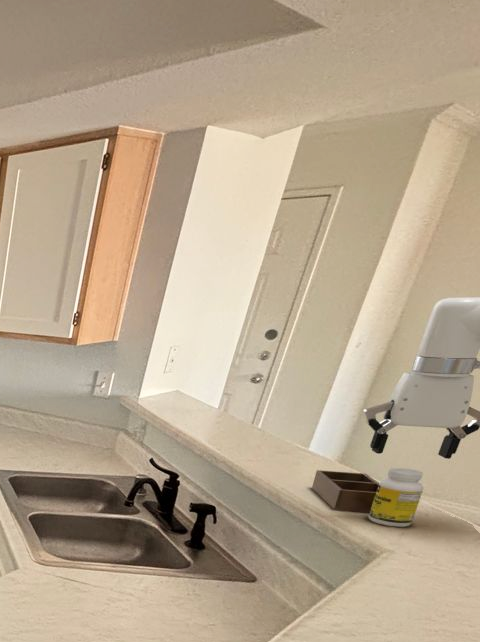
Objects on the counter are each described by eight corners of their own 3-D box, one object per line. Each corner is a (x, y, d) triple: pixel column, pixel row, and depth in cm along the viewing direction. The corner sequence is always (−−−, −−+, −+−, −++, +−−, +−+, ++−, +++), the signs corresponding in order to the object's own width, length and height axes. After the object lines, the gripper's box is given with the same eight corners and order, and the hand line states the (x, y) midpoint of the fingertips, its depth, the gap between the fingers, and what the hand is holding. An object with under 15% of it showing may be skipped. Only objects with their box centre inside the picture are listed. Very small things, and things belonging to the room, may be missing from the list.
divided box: (359, 492, 138) (365, 473, 137) (388, 514, 124) (395, 494, 123) (311, 488, 142) (316, 470, 141) (334, 509, 129) (340, 489, 127)
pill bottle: (360, 516, 125) (376, 466, 121) (398, 518, 122) (415, 467, 119) (378, 526, 119) (395, 474, 115) (418, 528, 117) (436, 475, 113)
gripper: (497, 365, 109) (462, 454, 115) (372, 363, 117) (345, 446, 123) (521, 370, 103) (482, 463, 109) (387, 367, 111) (357, 454, 117)
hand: (409, 454), depth 116 cm, fingers open, 9 cm apart
